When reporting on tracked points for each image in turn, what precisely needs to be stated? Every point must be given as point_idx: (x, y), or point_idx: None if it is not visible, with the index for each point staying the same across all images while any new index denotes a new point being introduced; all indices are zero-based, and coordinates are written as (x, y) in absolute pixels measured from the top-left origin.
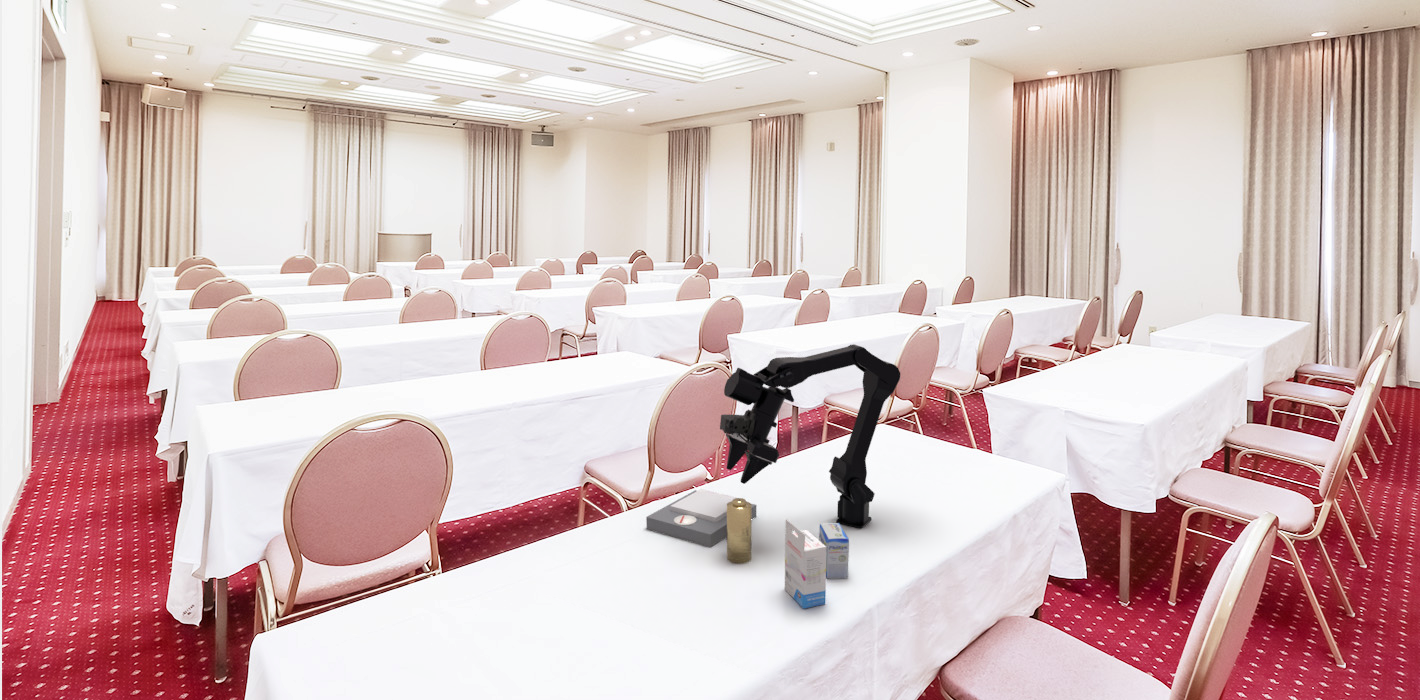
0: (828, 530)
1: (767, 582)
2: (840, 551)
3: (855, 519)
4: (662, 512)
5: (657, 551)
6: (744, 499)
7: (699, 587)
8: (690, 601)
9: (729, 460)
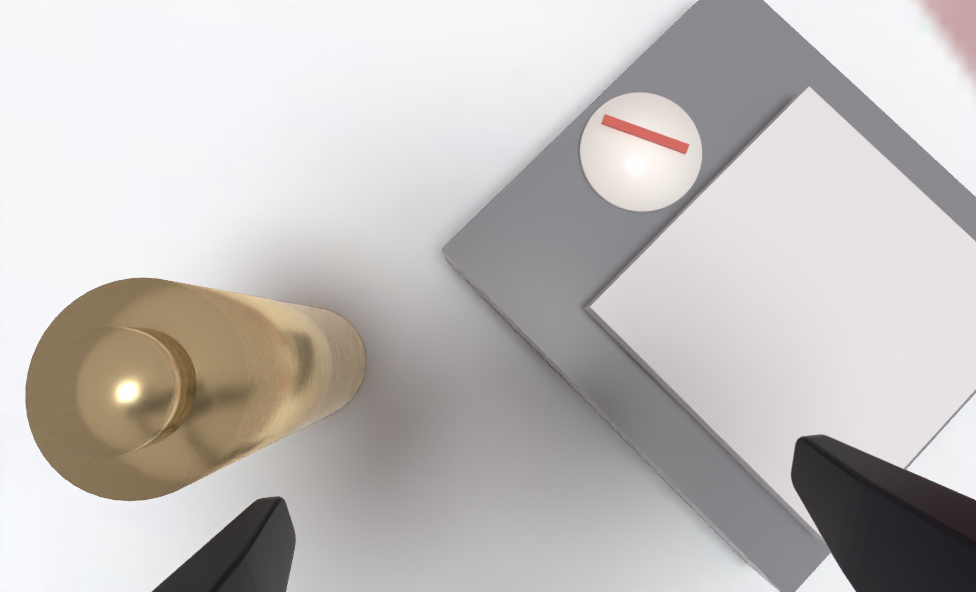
0: None
1: None
2: None
3: None
4: (773, 56)
5: (461, 29)
6: (114, 450)
7: (102, 143)
8: (6, 90)
9: (896, 509)
